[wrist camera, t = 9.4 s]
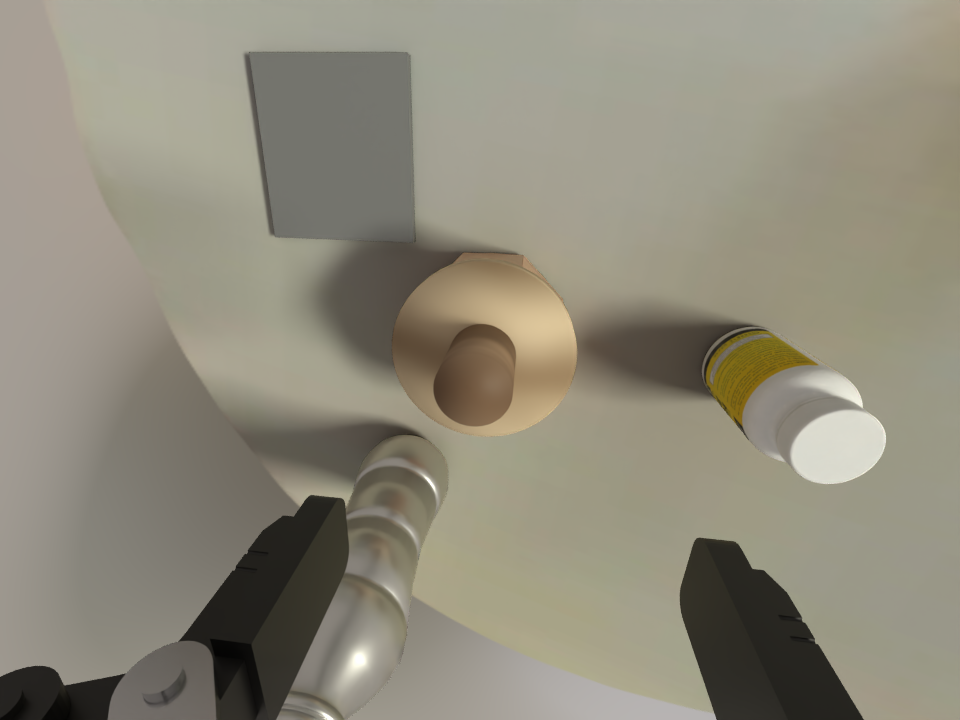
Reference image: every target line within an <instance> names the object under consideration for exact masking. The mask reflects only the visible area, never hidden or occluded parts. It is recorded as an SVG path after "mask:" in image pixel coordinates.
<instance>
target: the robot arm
mask: <svg viewBox="0 0 960 720" xmlns="http://www.w3.org/2000/svg"><path fill="white" fill-rule="evenodd" d="M348 557H349V540H348V529H347V519H346V508H345V502H344V500H343V499H342V498H334V497H324V496H315V495H310V496H309V497H308V498H307V499H306V500H305V501H304V503H303V504H302V506H301V507H300V509H299V510H298V511H297V513H296V514H295V516H294V517H292V516H282V517H281V518H279V519H278V520H277V521H275V522H274V523H273V524H271V525H270V526H269V527H267V528H266V529H264V530H263V531H262V532H261V534H260V535H259V536H258V538H257V539H256V540H255V542H254V543H253V544H252V546H251V547H250V548H249V550H248V553H247V554H245V555H244V556H243V557H242V559H241V560H240V562H239V563H238V564H237V565H236V569H235V571H232V572H231V573H230V575H229V576H228V578H227V579H226V580H225V581H224V583H223V584H222V586H221V587H220V588H219V590H218V591H217V592H216V593H215V595H214V596H213V598H212V599H211V600H210V601H209V603H208V604H207V605H206V607H205V608H204V609H203V611H202V612H201V613H200V615H199V616H198V617H197V619H196V620H195V621H194V623H193V624H192V626H191V627H190V628H189V629H188V631H187V632H186V633H185V635H184V636H183V637H182V638H181V639H180V640H179V641H178V642H175V643H171V644H169V645H166V646H163V647H161V648H159V649H157V650H155V651H153V652H152V653H150V654H148V655H147V656H145V657H144V658H143V659H141V660H140V661H139V662H137V663H136V664H135V665H134V666H133V667H132V668H131V669H130V670H129V671H128V672H127V673H126V674H122V675H117V676H113V677H107V678H102V679H97V680H92V681H87V682H81V683H76V684H71V685H66V686H64V685H63V683H62V680H61V678H60V676H59V674H58V673H57V672H56V671H55V670H54V669H52V668H50V667H46V666H32V667H26V668H22V669H19V670H16V671H13V672H10V673H8V674H6V675H3V676H1V677H0V720H276V719H277V717H278V715H279V713H280V711H281V708H282V706H283V704H284V702H285V700H286V698H287V696H288V693H289V691H290V689H291V687H292V685H293V683H294V681H295V678H296V676H297V674H298V672H299V670H300V668H301V666H302V663H303V661H304V659H305V657H306V655H307V653H308V651H309V649H310V646H311V644H312V642H313V640H314V638H315V636H316V634H317V631H318V629H319V627H320V625H321V623H322V621H323V619H324V616H325V614H326V612H327V610H328V608H329V606H330V604H331V601H332V599H333V597H334V595H335V593H336V591H337V589H338V587H339V584H340V582H341V580H342V578H343V576H344V573H345V570H346V567H347V563H348ZM680 608H681V613H682V618H683V621H684V624H685V627H686V630H687V633H688V636H689V639H690V642H691V645H692V648H693V651H694V654H695V657H696V659H697V662H698V665H699V668H700V671H701V674H702V677H703V680H704V683H705V686H706V689H707V692H708V695H709V698H710V701H711V704H712V707H713V710H714V713H715V716H716V719H717V720H864V719H863V718H862V716H861V714H860V713H859V711H858V709H857V708H856V706H855V704H854V703H853V701H852V699H851V698H850V696H849V694H848V693H847V691H846V690H845V688H844V686H843V685H842V683H841V681H840V680H839V678H838V676H837V675H836V673H835V671H834V670H833V668H832V666H831V665H830V663H829V661H828V660H827V658H826V656H825V655H824V653H823V652H822V650H821V648H820V647H819V645H818V644H816V643H815V638H814V637H813V635H812V633H811V632H810V630H809V628H808V627H807V625H806V623H803V622H802V617H801V615H800V614H799V612H798V610H797V609H796V607H795V605H794V604H793V602H792V600H791V599H790V597H789V595H788V594H787V592H786V591H785V590H784V589H783V588H782V587H781V586H779V585H778V584H777V583H776V582H775V581H774V580H773V579H772V578H771V577H770V576H769V575H768V574H767V573H766V572H765V571H764V570H756V569H752V567H751V566H750V564H749V562H748V560H747V558H746V557H745V555H744V553H743V551H742V549H741V548H740V546H739V545H738V544H737V543H736V542H734V541H725V540H716V539H706V538H697V539H696V540H695V542H694V544H693V547H692V550H691V554H690V557H689V561H688V564H687V567H686V571H685V574H684V578H683V581H682V584H681V589H680Z"/></svg>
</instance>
